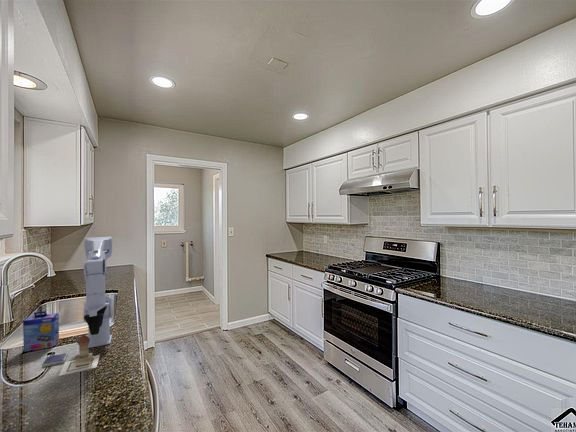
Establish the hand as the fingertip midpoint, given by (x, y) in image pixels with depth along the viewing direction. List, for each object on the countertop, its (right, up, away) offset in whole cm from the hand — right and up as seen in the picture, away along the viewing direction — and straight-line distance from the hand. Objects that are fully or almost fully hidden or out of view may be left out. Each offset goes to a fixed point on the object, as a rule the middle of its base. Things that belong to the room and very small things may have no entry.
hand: (96, 330), depth 101 cm
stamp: (-2, -10, -4) cm, 11 cm away
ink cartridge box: (-29, -11, +11) cm, 33 cm away
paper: (-2, -10, -4) cm, 11 cm away
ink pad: (-14, -10, -1) cm, 17 cm away
